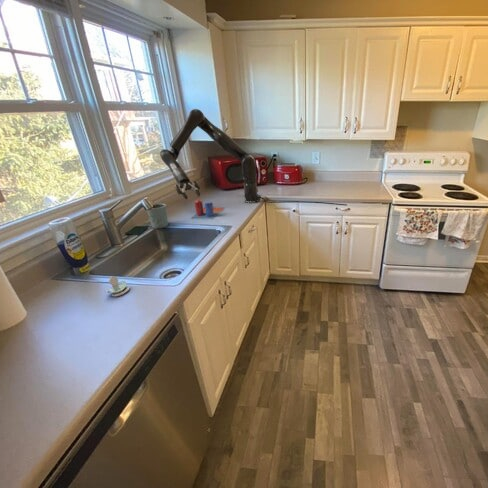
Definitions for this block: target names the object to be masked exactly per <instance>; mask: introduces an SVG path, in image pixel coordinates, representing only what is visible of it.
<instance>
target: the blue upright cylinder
mask: <svg viewBox="0 0 488 488" xmlns="http://www.w3.org/2000/svg"><path fill="white" fill-rule="evenodd" d="M213 207H214V203H213V201H211V200H207V201H204V208H205V209H206V211H205V213H206V215H207V217H213V216H214V213H215V212H214V211H213ZM214 217H215V216H214ZM214 217H213V218H214Z"/></svg>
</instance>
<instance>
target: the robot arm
mask: <svg viewBox="0 0 488 488" xmlns="http://www.w3.org/2000/svg"><path fill="white" fill-rule="evenodd" d="M197 128H199V129H201V130H202V131H203V132H204V133H205V134H207V136H209V137H210V139H211V140H212V141H213V142H214V143H215V144H216V145H217V146H219V147H220V149H222V150H224V151H225V152H227V153H228V154H230V155H231V156H233V157H235V158H236V159H237V160H238V161H239V162H240V163H241V167H242V168H241V169H242V170H241V171H242V179H243V192H244V202H245V203H247V204H254V203H257V202H259V201H260V200H263V201H264V202H265V203H268V204H269V203H270V204H273V203H274V204H284V203H285V204H286V203H288V204H290V203H292V204H294V203H301V204H302V203H304V204H305V203H306V204H307V203H308V204H325V205H336V206H348V204H346V203H335V202H324V201H305V200H303V201H301V200H300V201H297V200H295V201H294V200H293V201H292V200H291V201H288V200H287V201H286V200H283V201H275V200H274V201H268V200H266V199H265V198H264V197H262V196H261V194H259V190H258V189H259V188H258V186H257V170H256V169H257V168H256V166H257V165H256V160H255V158H254V156H252V154H249V153H248V152H246V151H245V150H244V149H242V148H241V147H240V145H238V143H237V142H236V141H234V139H233V138H232V137H231V136H230V135H228V134H227V133H226V132H224V131H223V130H222V129H221V128H219V127H218V126H216V125H215V124H213V123H212V122H211V121H210V120H209V119H208V118H207V117H206V116H205V114H204V113H203V112H202V111H201V109H199V108H193V109H191V110H190V111H189V114H188V116H187V118H186V121H185V122H184V124H183V125H182V127H181V128H180V130H179V131H178V132H177V133H176V135H175V136H174V137H173V139H172V140H171V142H170V143H169V147H170V148H171V149H170V150H169V149H165V148H164V149H161V151H159V155H160V159H161V161H162V162H163V163H164V165H166V166H167V167H168V169H169V170H170V172H171V174H172V176H173V178H174V180H175V181H176V183H177V184H175V186H174V189H175V190H176V192H177V194H178V195H182V197H183V198H184V199H185V200H188V198H189V196H188V195H187V194H186V192H185V191H193V192H194V193H195V194H196V196H197V197H200V196H201V192H200V189H201V187H200V186H199V184H198V183H197V181H191V180H190V178H189V176H188V175H187V173H186V171H185V169H183V167H182V165H181V164H180V163H179V161H177V160H178V158H179V156H180V153H181V150H182V149H183V148H184V146H185V145H186V143H187V142H188V140H189V138H190V137H191V135H192V134H193V132H194V131H195V130H196V129H197Z"/></svg>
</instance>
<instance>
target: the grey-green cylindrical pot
mask: <svg viewBox="0 0 488 488" xmlns="http://www.w3.org/2000/svg"><path fill="white" fill-rule="evenodd" d="M152 204H153V208H152V209H151V210H149V211H147V210H146V212H147V215H148V219H149V221H150V226H151V227H152V228H153V229H163V228H166V227H167V226H169V221H168V213H167V212H168V211H167V205H166V203H152Z"/></svg>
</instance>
